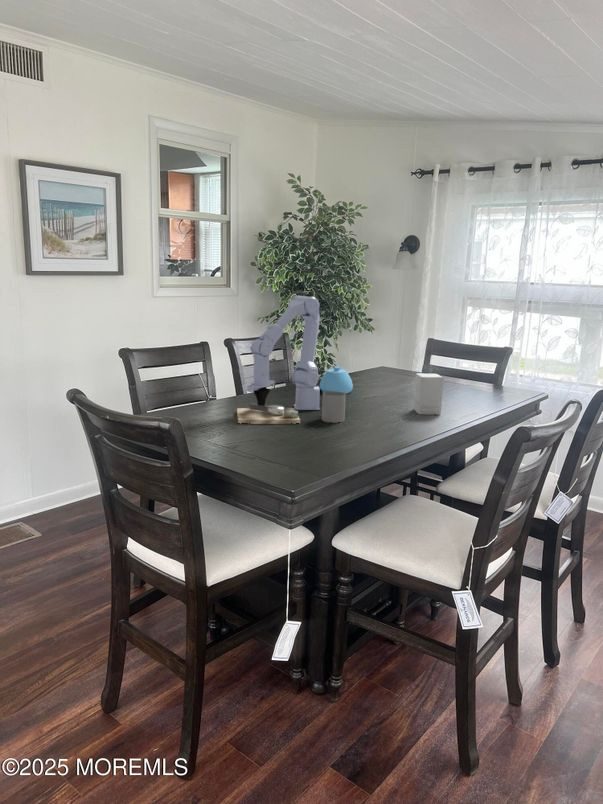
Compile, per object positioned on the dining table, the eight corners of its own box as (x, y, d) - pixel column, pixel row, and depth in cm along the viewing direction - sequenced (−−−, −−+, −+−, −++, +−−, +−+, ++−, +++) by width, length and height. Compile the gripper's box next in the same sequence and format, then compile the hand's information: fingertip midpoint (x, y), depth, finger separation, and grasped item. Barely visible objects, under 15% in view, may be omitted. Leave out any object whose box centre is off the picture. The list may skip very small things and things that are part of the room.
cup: (328, 423, 216) (329, 396, 214) (317, 418, 223) (318, 392, 221) (348, 421, 220) (349, 394, 218) (337, 416, 227) (338, 390, 225)
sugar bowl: (358, 391, 275) (359, 366, 272) (342, 396, 262) (343, 370, 260) (329, 387, 282) (330, 363, 280) (313, 392, 270) (314, 366, 268)
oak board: (293, 411, 232) (294, 401, 232) (300, 423, 215) (300, 413, 214) (236, 412, 229) (236, 402, 228) (238, 424, 212) (238, 413, 211)
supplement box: (441, 415, 234) (444, 377, 230) (418, 414, 233) (421, 377, 230) (434, 409, 242) (437, 373, 239) (412, 409, 242) (415, 372, 239)
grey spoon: (286, 413, 222) (287, 406, 222) (278, 416, 217) (279, 409, 217) (254, 408, 229) (254, 401, 228) (246, 411, 224) (246, 404, 223)
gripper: (264, 368, 230) (263, 402, 233) (240, 373, 218) (240, 409, 221) (279, 370, 226) (278, 405, 229) (256, 375, 214) (256, 412, 217)
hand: (261, 407), depth 225 cm, fingers closed, pressing on grey spoon
